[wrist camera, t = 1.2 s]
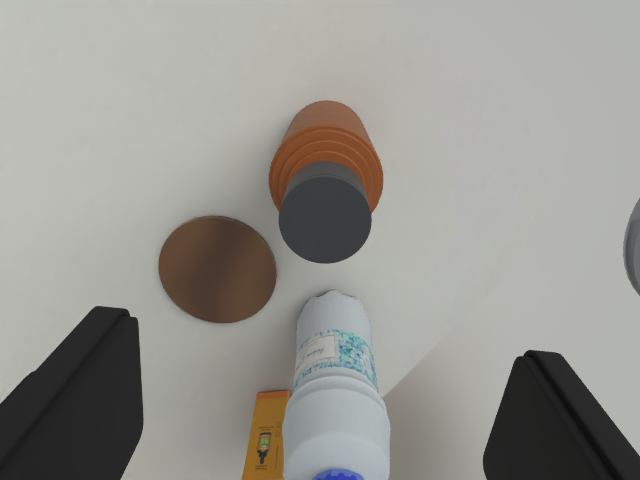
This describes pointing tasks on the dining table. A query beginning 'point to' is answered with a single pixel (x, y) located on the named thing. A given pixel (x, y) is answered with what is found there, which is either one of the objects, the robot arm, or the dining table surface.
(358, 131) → the sauce bottle
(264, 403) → the supplement box
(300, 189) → the cap
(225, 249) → the coaster
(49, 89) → the dining table surface
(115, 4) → the dining table surface
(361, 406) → the bottle
